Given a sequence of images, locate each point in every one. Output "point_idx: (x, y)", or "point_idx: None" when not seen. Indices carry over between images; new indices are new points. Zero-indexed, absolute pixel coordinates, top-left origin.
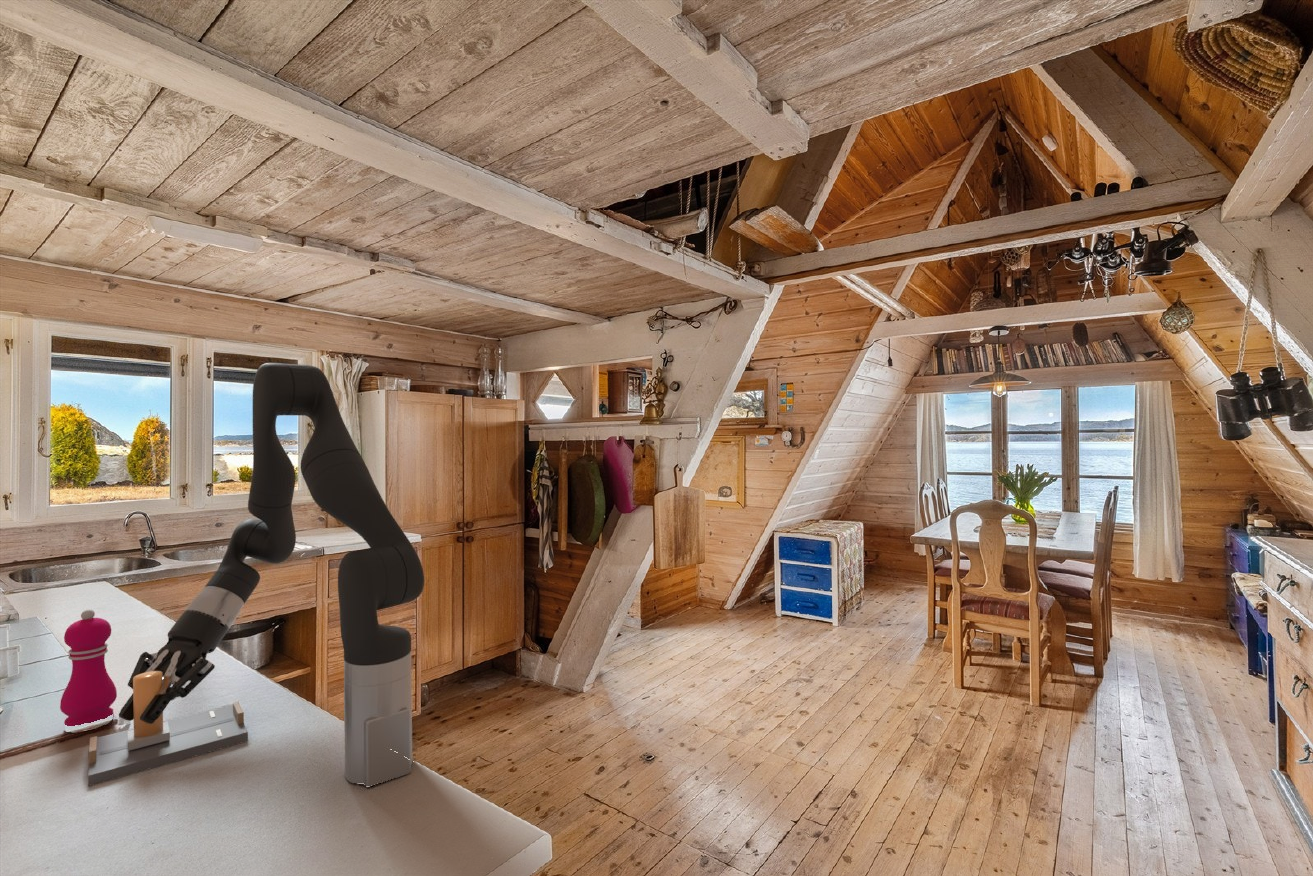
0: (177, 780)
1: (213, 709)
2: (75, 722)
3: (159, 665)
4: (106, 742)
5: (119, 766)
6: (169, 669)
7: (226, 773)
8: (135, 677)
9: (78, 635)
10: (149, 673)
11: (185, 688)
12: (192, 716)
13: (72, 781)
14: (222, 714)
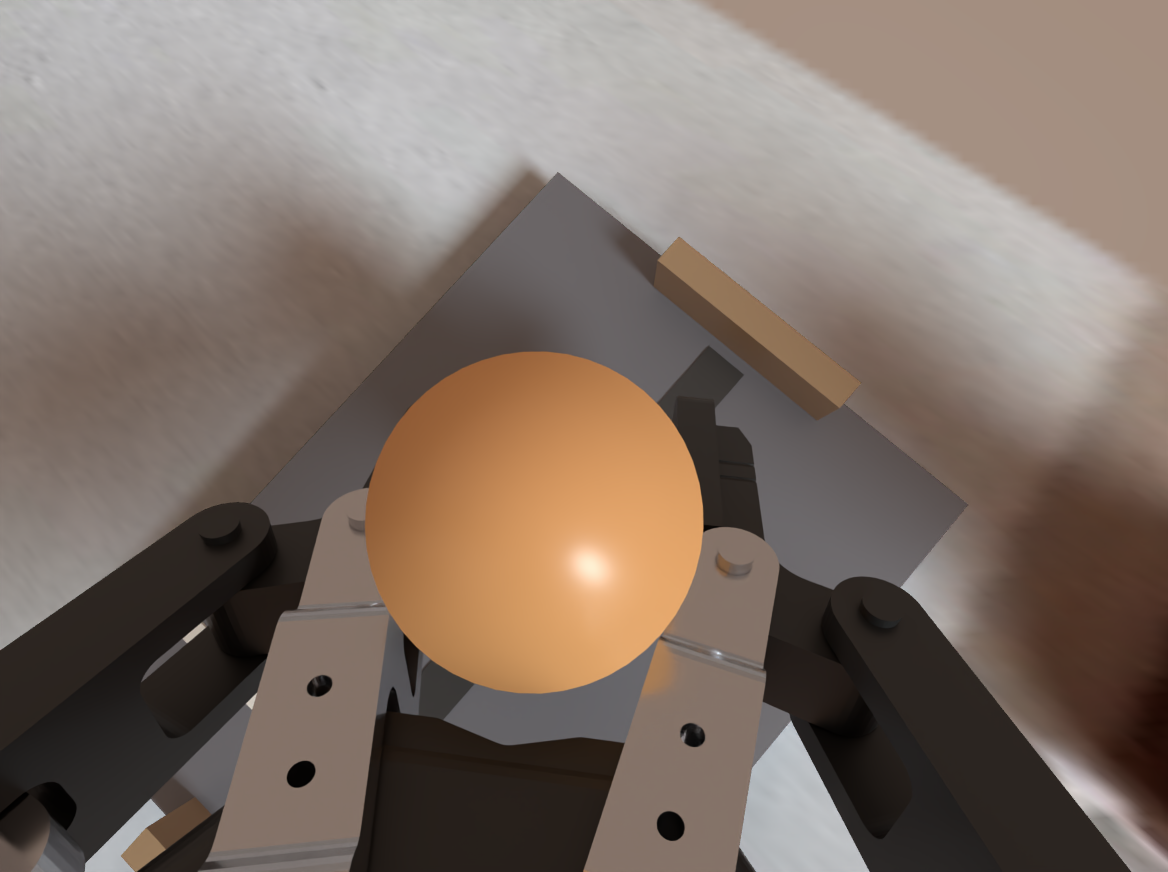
0: (190, 296)
1: None
2: None
3: (603, 813)
4: (823, 478)
5: (482, 264)
6: (329, 705)
7: (2, 379)
8: (643, 426)
9: None
10: (579, 588)
11: (235, 664)
12: None
13: (684, 223)
14: None
